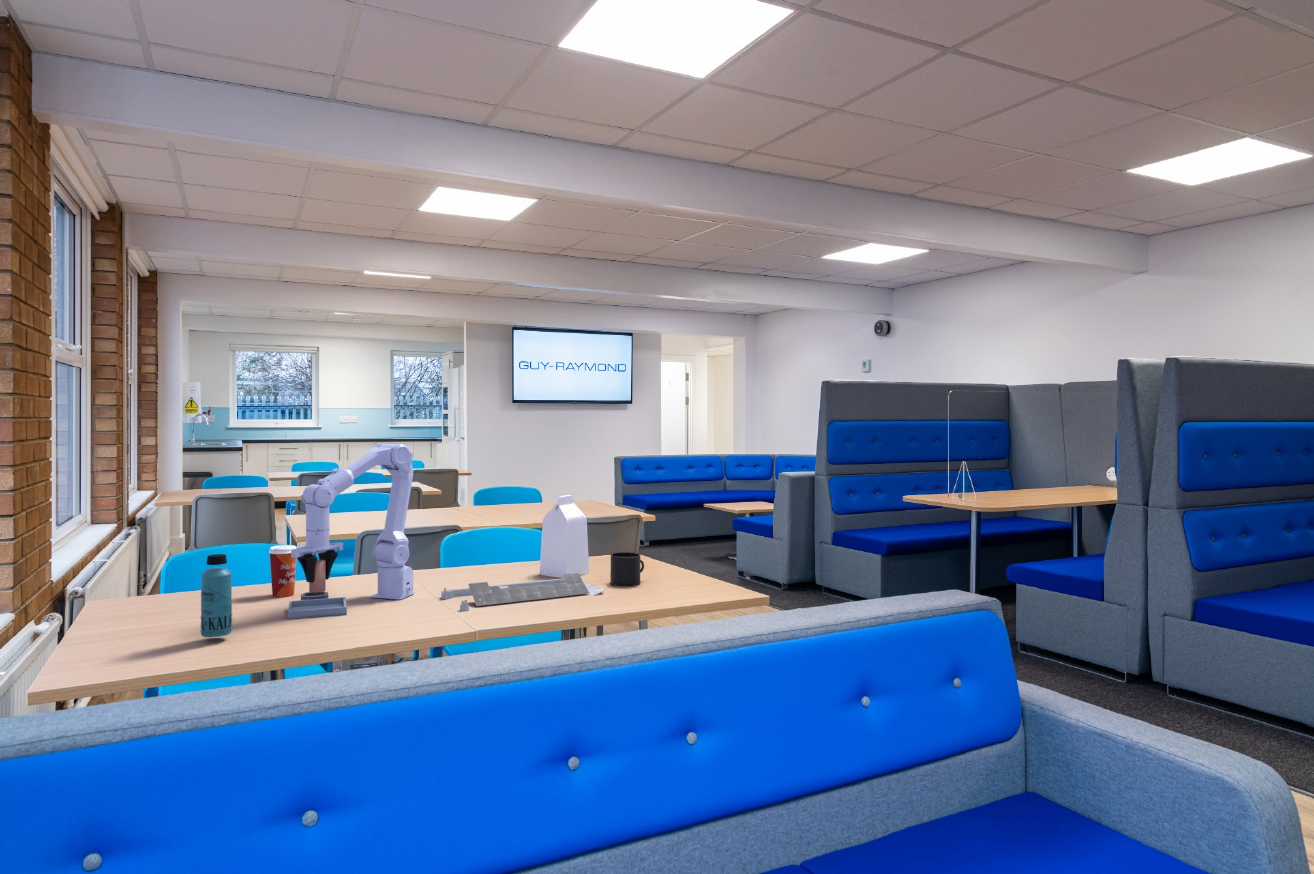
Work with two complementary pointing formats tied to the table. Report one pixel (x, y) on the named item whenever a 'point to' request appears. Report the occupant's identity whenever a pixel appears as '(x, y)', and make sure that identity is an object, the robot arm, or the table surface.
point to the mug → (625, 568)
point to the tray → (317, 608)
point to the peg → (319, 577)
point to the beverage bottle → (216, 599)
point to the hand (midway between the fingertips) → (317, 580)
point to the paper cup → (282, 570)
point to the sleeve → (314, 595)
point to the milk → (564, 540)
